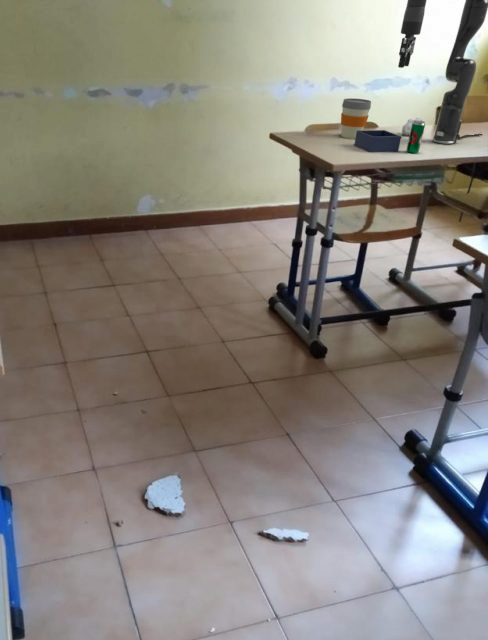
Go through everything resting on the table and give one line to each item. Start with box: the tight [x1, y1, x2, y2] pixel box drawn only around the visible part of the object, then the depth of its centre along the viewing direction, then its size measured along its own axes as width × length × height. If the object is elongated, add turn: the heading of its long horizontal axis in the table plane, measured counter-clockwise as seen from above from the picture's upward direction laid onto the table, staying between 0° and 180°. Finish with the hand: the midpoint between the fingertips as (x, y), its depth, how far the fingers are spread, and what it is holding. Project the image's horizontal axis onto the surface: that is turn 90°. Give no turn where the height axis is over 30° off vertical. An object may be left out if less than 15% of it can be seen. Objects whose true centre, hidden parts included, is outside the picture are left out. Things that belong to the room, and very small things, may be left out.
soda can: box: [406, 120, 426, 154], centre depth 250 cm, size 5×5×12 cm
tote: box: [353, 129, 402, 153], centre depth 256 cm, size 13×13×6 cm
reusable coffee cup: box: [340, 98, 372, 140], centre depth 273 cm, size 13×13×15 cm
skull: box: [401, 117, 423, 137], centre depth 284 cm, size 8×9×12 cm
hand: (403, 66), depth 248 cm, fingers open, 8 cm apart
